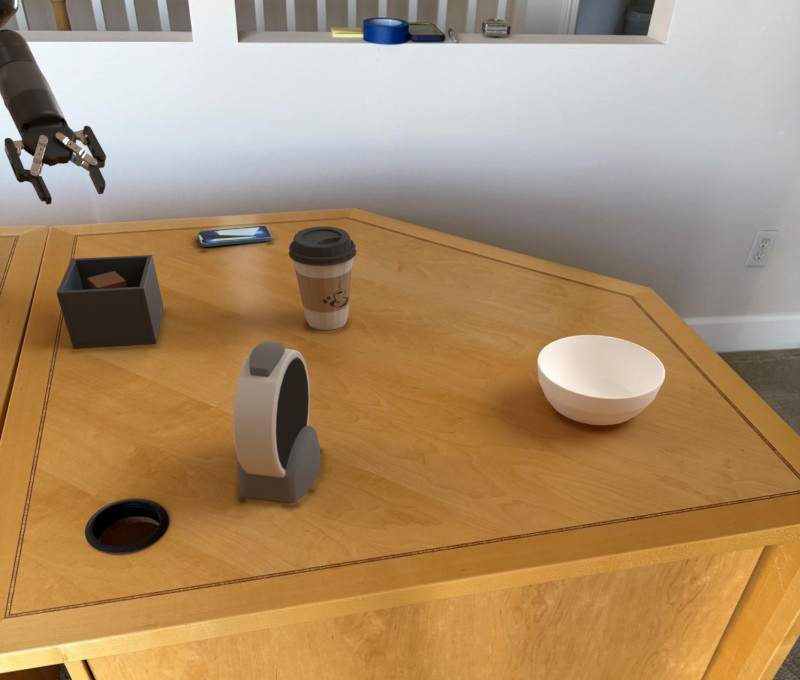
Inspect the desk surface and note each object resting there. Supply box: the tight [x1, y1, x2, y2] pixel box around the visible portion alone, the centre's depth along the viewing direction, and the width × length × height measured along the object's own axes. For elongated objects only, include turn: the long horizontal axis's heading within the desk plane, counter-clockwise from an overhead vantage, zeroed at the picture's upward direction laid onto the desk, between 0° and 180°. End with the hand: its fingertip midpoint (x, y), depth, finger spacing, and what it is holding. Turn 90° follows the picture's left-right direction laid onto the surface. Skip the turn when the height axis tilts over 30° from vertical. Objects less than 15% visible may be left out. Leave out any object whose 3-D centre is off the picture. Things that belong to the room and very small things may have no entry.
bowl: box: [536, 334, 666, 426], centre depth 114 cm, size 18×18×7 cm
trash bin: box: [55, 254, 164, 350], centre depth 132 cm, size 14×14×10 cm
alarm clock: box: [232, 340, 322, 504], centre depth 98 cm, size 16×10×18 cm, turn 170°
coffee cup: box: [288, 225, 358, 331], centre depth 132 cm, size 11×11×15 cm
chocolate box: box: [87, 271, 127, 289], centre depth 132 cm, size 5×5×8 cm
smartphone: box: [197, 224, 273, 248], centre depth 164 cm, size 7×1×15 cm
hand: (76, 196), depth 124 cm, fingers open, 8 cm apart
